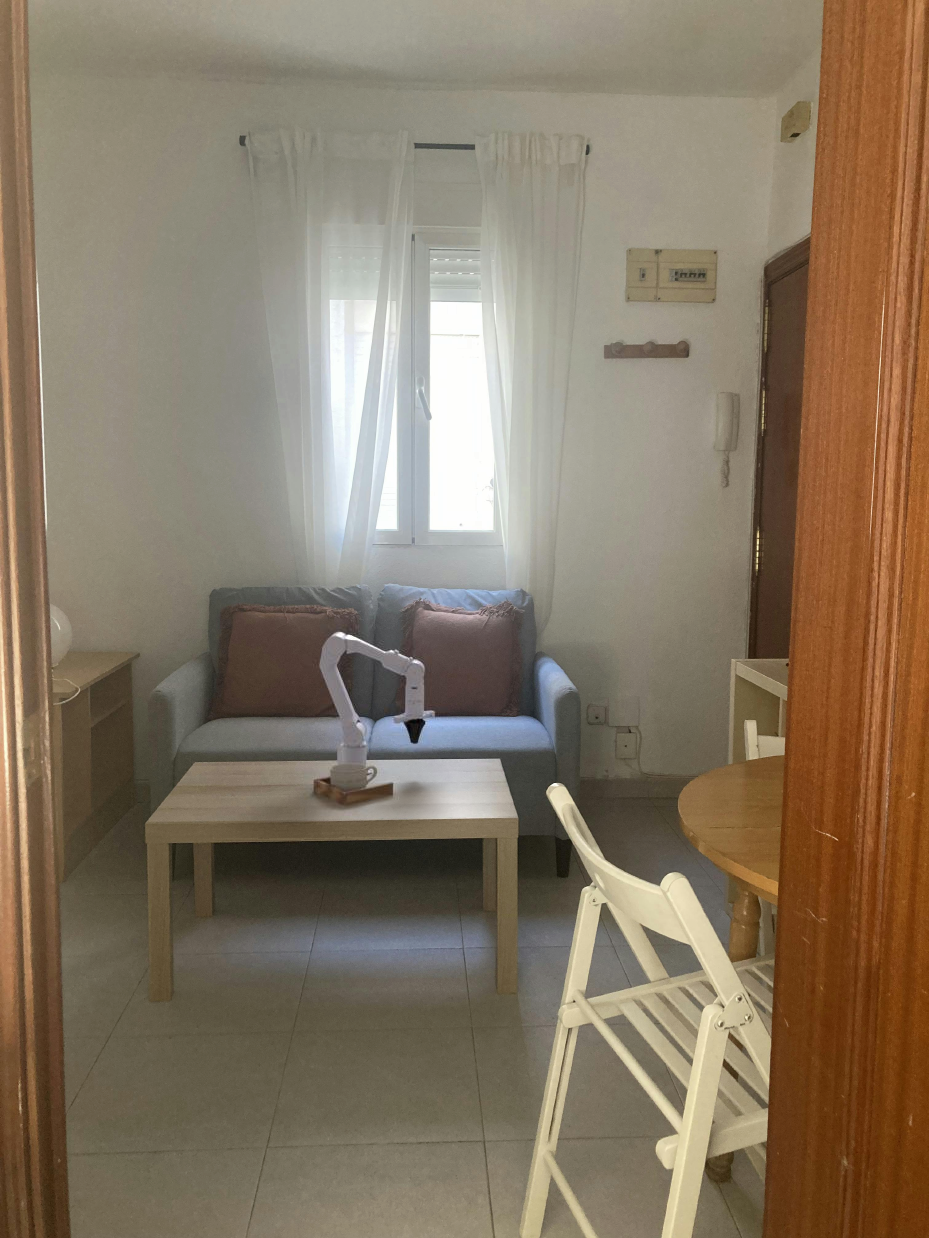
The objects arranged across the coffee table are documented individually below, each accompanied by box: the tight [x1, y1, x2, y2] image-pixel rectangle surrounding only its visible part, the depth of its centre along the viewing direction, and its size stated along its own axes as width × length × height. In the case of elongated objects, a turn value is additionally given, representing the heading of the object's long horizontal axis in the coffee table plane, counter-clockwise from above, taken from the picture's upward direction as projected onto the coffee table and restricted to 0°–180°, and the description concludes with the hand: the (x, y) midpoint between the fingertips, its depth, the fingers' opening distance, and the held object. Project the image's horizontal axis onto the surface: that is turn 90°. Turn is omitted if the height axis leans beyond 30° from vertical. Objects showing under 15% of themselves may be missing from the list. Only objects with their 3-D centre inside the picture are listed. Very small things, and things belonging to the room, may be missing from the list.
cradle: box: [313, 776, 394, 807], centre depth 272 cm, size 16×17×4 cm
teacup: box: [329, 763, 378, 792], centre depth 272 cm, size 14×11×8 cm
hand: (414, 742), depth 292 cm, fingers closed
